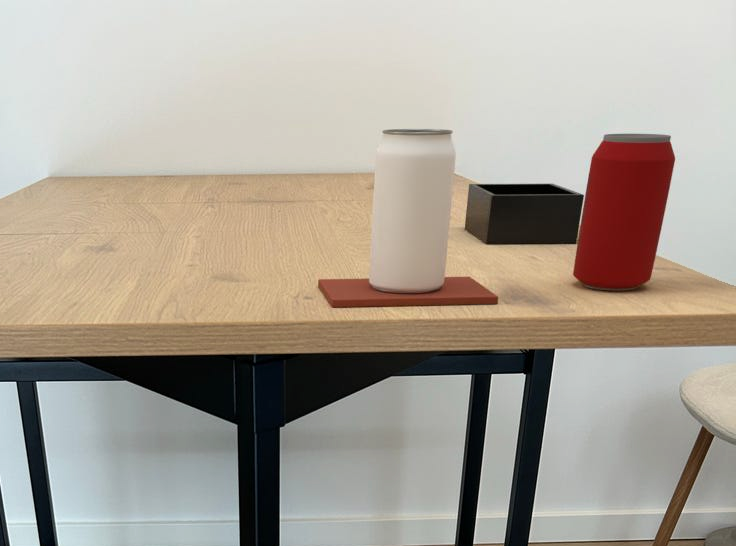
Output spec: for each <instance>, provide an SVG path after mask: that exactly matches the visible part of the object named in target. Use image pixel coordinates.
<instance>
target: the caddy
mask: <svg viewBox="0 0 736 546" xmlns="http://www.w3.org/2000/svg"><path fill="white" fill-rule="evenodd" d="M467 190H468V191H467V199H466V200H467V202H466V211H465V220H464V221H465V222H464V229H465V230H466V231H467V232H469V233H470V234H472V235H473V236H474V237H476V238H477V239H479V240H480V241H481V242H483V243H484V244H486V245H554V244H555V245H560V244H562V245H563V244H564V245H566V244H567V245H568V244H570V245H572V244H574V245H575V244H577V243H578V237H579V231H580V225H581V218H582V212H583V206H584V200H585V194H583V193H580V192H579V191H578V192H577V191H575V190H573V189H569V188H567V187H564V186H561V185H558V184H555V183H469V184H468V189H467Z"/></svg>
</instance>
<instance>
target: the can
mask: <svg viewBox="0 0 736 546" xmlns="http://www.w3.org/2000/svg"><path fill="white" fill-rule="evenodd" d="M381 132H382V139H381V141H380V143H379V145H378V146H377V150H376V154H375V163H374V178H373V180H374V181H373V196H372V197H373V198H372V213H371V214H372V216H371V235H370V249H369V250H370V252H369V253H370V254H369V273H368V278H369V283H370V284H371V285H372V287H373V288H374V289H376V290H379V291H383V292H389V293H399V294H420V293H429V292H434V291H437V290H438V289H439V288H440V286H442V285H443V284H444V277H446V276H445V275H446V268H447V267H446V266H447V255H448V246H449V245H448V244H449V237H450V235H449V234H450V226H451V225H450V223H451V212H452V203H453V202H452V201H453V192H454V191H453V190H454V181H455V170H456V169H455V167H456V155H457V153H456V148H455V146H454V143H453V139H452V134H453V133H454V132H453V129H440V128H393V129H391V128H390V129H384V130H382V131H381Z"/></svg>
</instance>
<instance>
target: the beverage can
mask: <svg viewBox="0 0 736 546" xmlns="http://www.w3.org/2000/svg"><path fill="white" fill-rule="evenodd" d="M671 138H672V137H671V135H669V134H658V133H657V134H656V133H606V134H603V138H602V141H601V142H600V144H599V145H598V147H596V149H595V150H594V153H593V154H592V156H591V160H590V165H589V171H588V178H587V183H586V188H585V194H584V199H583V205H582V211H581V218H580V224H579V230H578V236H577V243H576V244H577V245H576V250H575V257H574V264H573V272H572V275H573V278H575V279H576V280H577V281H579V283H581V285H582V286H583V287H585V288H590V289H592V290H601V291H611V292H612V291H613V292H615V291H617V292H619V291H620V292H621V291H633V290H636V289H638V288H639V287H640V286H642V285H644V284H646V283H647V282H649V281H650V280H651V279H652V275H653V270H654V265H655V261H656V256H657V251H658V246H659V242H660V236H661V232H662V228H663V223H664V218H665V213H666V208H667V202H668V198H669V193H670V190H671V189H670V188H671V184H672V179H673V173H674V169H675V168H674V167H675V162H676V156H675V153H674V149H673V146H672V142H671Z"/></svg>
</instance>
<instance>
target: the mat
mask: <svg viewBox="0 0 736 546" xmlns="http://www.w3.org/2000/svg"><path fill="white" fill-rule="evenodd" d="M317 286H318V288H319V290H320V292H321V293H322V295H324V297H325V299H326V300H327V302H328V303H329V304H330V306H331V307H332V308H359V307H360V308H361V307H362V308H363V307H364V308H365V307H405V306H406V307H407V306H410V307H411V306H412V307H413V306H451V305H452V306H457V305H461V306H462V305H497V304H498V303H499V296H498V294H495V293H494V292H493V291H491V290H490V289H488V288H486V287H485V286H484V285H482V284H481V283H479V282H478V281H477V280H475V279H474V278H472V277H471V276H445V277H444V284H443V285H442V286H440V288H439V289H438V290H437V291H434V292H429V293H420V294H399V293H389V292H383V291H379V290H376V289H374V288H373V287H372V285H371V284H370V283H369V277H367V278H322V279H321V278H320V279H319V278H318V280H317Z"/></svg>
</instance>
